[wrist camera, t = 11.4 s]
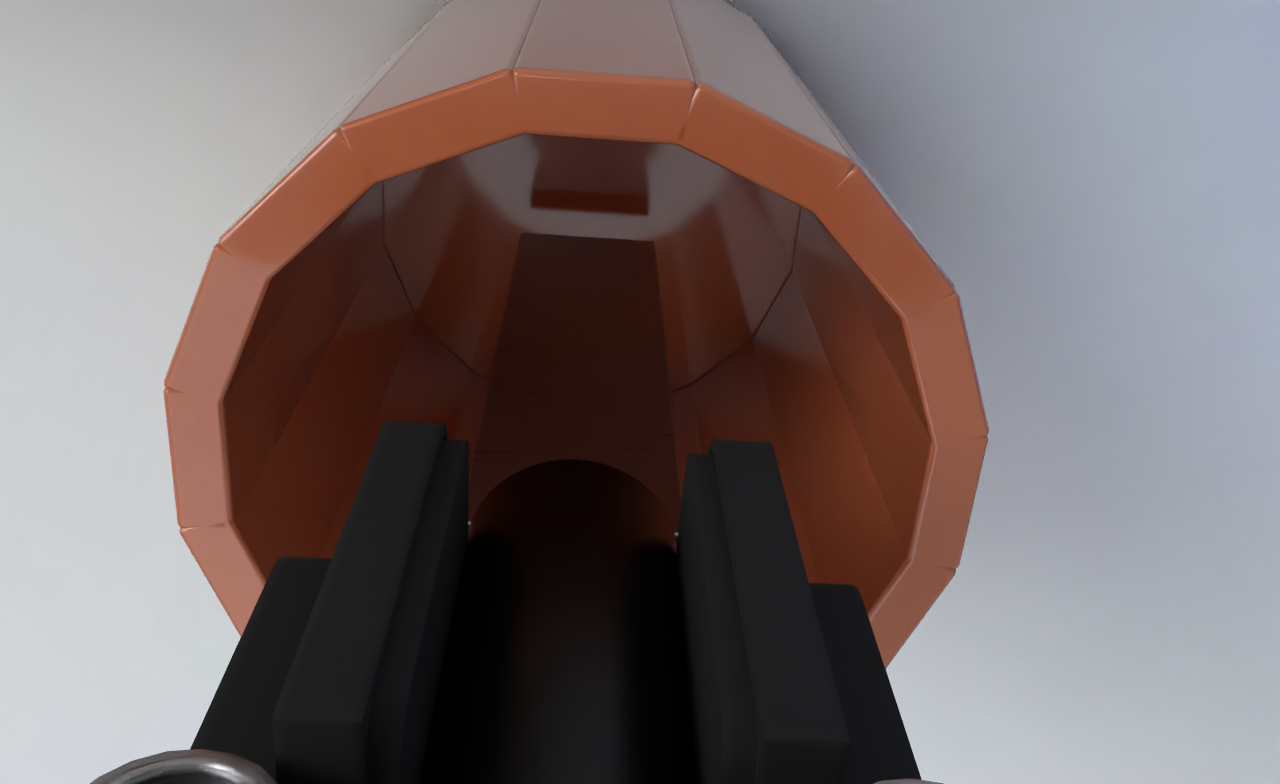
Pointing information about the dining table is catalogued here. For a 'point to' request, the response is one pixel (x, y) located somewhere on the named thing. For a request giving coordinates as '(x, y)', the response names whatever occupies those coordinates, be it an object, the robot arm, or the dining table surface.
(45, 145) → the dining table surface
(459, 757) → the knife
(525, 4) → the cup
